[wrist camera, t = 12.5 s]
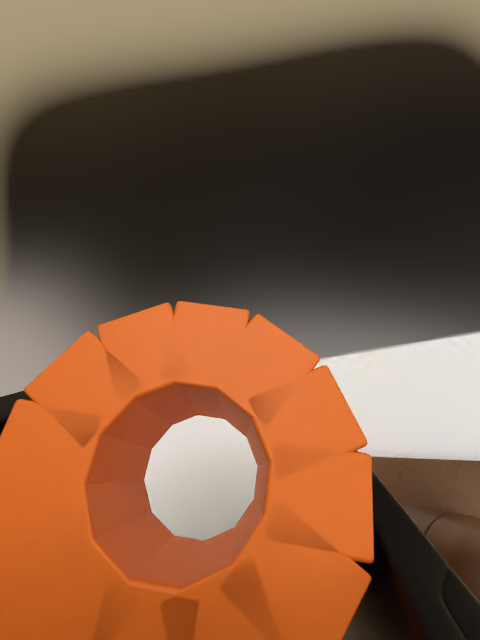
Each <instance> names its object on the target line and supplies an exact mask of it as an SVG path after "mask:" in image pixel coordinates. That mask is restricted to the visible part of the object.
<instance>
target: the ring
mask: <svg viewBox="0 0 480 640" xmlns="http://www.w3.org/2000/svg"><path fill="white" fill-rule="evenodd" d="M249 320H250V312H249V311H248V310H243V309H236V308H228V307H221V306H214V305H206V304H198V303H191V302H184V301H178V302H177V304H176V307H175V311H173V309H172V306H171V305H170V304H169V303H164V304H161V305H158V306H155V307H152V308H149V309H146V310H143V311H140V312H137V313H134V314H132V315H128V316H126V317H122V318H119V319H116V320H113V321H110V322H107V323H104V324H101V325H99V326H98V327H97V332H98V336H99V339H98V338H97V337H96V336H94V335H93V334H92V333H91V332H89V331H87V332H86V333H84V335H82V336H81V337H80V338H79V339H78V340H77V341H76V342H75V343H74V344H72V345H71V346H70V347H69V348H68V349H67V350H66V351H65V352H64V353H63V354H61V355H60V356H59V357H58V358H57V359H56V360H55V361H54V362H53V363H52V364H51V365H50V366H48V367H47V368H46V369H45V370H44V371H43V372H42V373H41V374H40V375H39V376H37V378H35V379H34V380H33V381H32V382H31V383H30V384H29V385H28V386H27V387H25V389H24V391H25V393H26V394H27V395H28V396H29V397H30V398H31V399H32V400H33V401H32V400H25V399H19V400H17V401H16V402H15V404H14V406H13V409H12V411H11V413H10V415H9V418H8V420H7V422H6V424H5V427H4V429H3V431H2V433H1V436H0V640H342V638H343V636H344V634H345V632H346V630H347V628H348V626H349V624H350V622H351V620H352V618H353V616H354V614H355V612H356V610H357V608H358V606H359V604H360V602H361V600H362V598H363V596H364V594H365V592H366V590H367V588H368V586H369V584H370V582H371V576H370V574H368V573H367V572H366V571H365V570H364V569H363V568H362V567H360V566H359V565H358V564H357V563H356V562H361V563H367V564H370V563H373V560H374V535H373V494H372V459H371V456H370V455H368V454H367V453H360V452H354V451H356V450H358V449H360V448H363V447H365V446H366V445H367V440H366V438H365V436H364V434H363V432H362V430H361V428H360V427H359V425H358V423H357V421H356V419H355V417H354V415H353V413H352V411H351V410H350V408H349V406H348V404H347V402H346V400H345V398H344V396H343V394H342V393H341V391H340V389H339V387H338V385H337V383H336V381H335V379H334V377H333V376H332V374H331V372H330V370H329V368H328V367H327V366H321V367H318V368H316V369H314V367H315V366H316V364H317V363H318V361H319V360H320V357H319V356H318V355H317V354H315V353H314V352H312V351H311V350H309V349H308V348H307V347H305V346H304V345H302V344H301V343H299V342H298V341H297V340H295V339H294V338H292V337H291V336H289V335H288V334H287V333H285V332H284V331H282V330H281V329H279V328H278V327H277V326H275V325H274V324H272V323H271V322H269V321H268V320H266V319H265V318H264V317H262V316H261V315H259V314H256V315H255V316H254V318H253V319H252V320H251V321H250V322H249ZM196 415H202V416H209V417H215V418H222V419H226V420H227V421H228V422H229V423H230V424H231V425H233V426H234V427H235V428H236V429H237V430H239V431H240V432H241V433H242V434H243V435H245V436H246V437H247V439H248V442H249V444H250V447H251V450H252V452H253V455H254V458H255V460H256V463H257V465H258V468H257V477H256V485H255V494H254V500H253V501H252V502H251V504H250V505H249V507H248V508H247V510H246V511H245V513H244V514H243V516H242V517H241V519H240V520H239V522H238V523H237V525H236V526H235V527H234V528H232V529H230V530H227V531H225V532H223V533H221V534H219V535H217V536H214V537H212V538H210V539H208V540H206V541H201V540H196V539H190V538H185V537H179V536H174V535H173V534H172V533H171V532H170V531H169V530H168V529H167V528H166V527H165V526H164V525H163V524H162V523H161V522H160V520H159V519H158V518H157V517H156V516H155V515H154V514H153V513H152V512H151V508H150V503H149V499H148V495H147V491H146V486H145V482H144V477H145V473H146V469H147V465H148V461H149V457H150V453H151V449H152V448H153V447H154V446H155V444H156V443H157V442H158V441H159V440H160V438H161V437H162V436H163V435H164V434H165V433H166V431H167V430H168V429H169V428H170V427H171V426H172V425H173V424H176V423H178V422H181V421H183V420H186V419H188V418H191V417H193V416H196ZM355 561H356V562H355Z"/></svg>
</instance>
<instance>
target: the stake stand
mask: <svg viewBox="0 0 480 640" xmlns="http://www.w3.org/2000/svg"><path fill="white" fill-rule="evenodd" d="M371 459H372V470H373V471H374V472H375V474H376V475H377V476H378V477H379V479H380V480H381V481H382V482H383V484H384V485H385V486H386V487H387V488H388V490H389V491H390V492H391V493H392V495H393V496H394V497H395V498H396V500H397V501H398V502H399V503H400V505H401V506H402V507H403V508H404V510H405V511H406V512H407V513H408V515H409V516H410V517H411V518H412V519H413V521H414V522H415V523H416V524H417V526H418V527H419V528H420V529H421V531H422V532H423V533H424V534H425V536H426V537H427V538H428V539H429V541H430V542H431V543H432V544H433V546H434V547H435V548H436V549H437V550H438V552H439V553H440V554H441V555H442V557H443V558H444V559H445V560H446V562H447V563H448V567H451V568H452V569H453V570H454V571H455V573H456V574H457V575H458V576H459V578H460V579H461V580H462V581H463V583H464V584H465V585H466V586H467V587H468V589H469V590H470V591H471V592H472V593H473V595H474V596H475V597H476V598H477V599H478V601H479V602H480V461H466V460H440V459H414V458H388V457H371Z"/></svg>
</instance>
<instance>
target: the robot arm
mask: <svg viewBox="0 0 480 640" xmlns="http://www.w3.org/2000/svg"><path fill="white" fill-rule="evenodd" d="M19 399H25V400H32V399H31V398H30V397H29V396H28V395H27V394H26V393H25V391H21V392H18V393H14V394H10V395H7V396H3V397H0V436H1V433H2V431H3V429H4V427H5V424H6V422H7V420H8V418H9V415H10V413H11V411H12V409H13V406H14V404H15V402H16V401H17V400H19ZM32 401H33V400H32ZM354 452H358V451H357V450H356V451H354ZM372 494H373V535H374V560H373V563H370V564H367V563H361V562H356V561H355V562H356V563H357V564H358V565H359V566H360V567H362V568H363V569H364V570H365V571H366V572H367V573H368V574H370V576H371V582H370V584H369V586H368V588H367V590H366V592H365V594H364V596H363V598H362V600H361V602H360V604H359V606H358V608H357V610H356V612H355V614H354V616H353V618H352V620H351V622H350V624H349V626H348V628H347V630H346V632H345V634H344V636H343V638H342V640H480V602H479V601H478V599H477V598H476V597H475V596H474V595H473V593H472V592H471V591H470V590H469V589H468V587H467V586H466V585H465V584H464V583H463V581H462V580H461V579H460V578H459V576H458V575H457V574H456V573H455V571H454V570H453V569H452V568H451V567H448V563H447V562H446V560H445V559H444V558H443V557H442V555H441V554H440V553H439V552H438V550H437V549H436V548H435V547H434V546H433V544H432V543H431V542H430V541H429V539H428V538H427V537H426V536H425V534H424V533H423V532H422V531H421V529H420V528H419V527H418V526H417V524H416V523H415V522H414V521H413V519H412V518H411V517H410V516H409V515H408V513H407V512H406V511H405V510H404V508H403V507H402V506H401V505H400V503H399V502H398V501H397V500H396V498H395V497H394V496H393V495H392V493H391V492H390V491H389V490H388V488H387V487H386V486H385V485H384V484H383V482H382V481H381V480H380V479H379V477H378V476H377V475H376V474H375V472H374V471H373V470H372Z"/></svg>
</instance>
